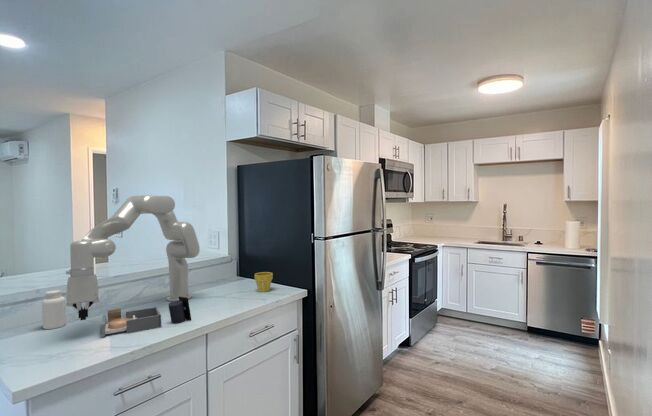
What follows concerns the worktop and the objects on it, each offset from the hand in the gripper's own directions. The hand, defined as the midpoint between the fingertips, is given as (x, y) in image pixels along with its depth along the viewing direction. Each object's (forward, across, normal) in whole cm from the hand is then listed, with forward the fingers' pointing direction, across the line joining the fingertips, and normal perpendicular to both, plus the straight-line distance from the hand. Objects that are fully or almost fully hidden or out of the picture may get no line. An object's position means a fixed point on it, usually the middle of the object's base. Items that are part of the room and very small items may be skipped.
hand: (83, 319), depth 139 cm
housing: (+6, +20, 0) cm, 21 cm away
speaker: (+6, +34, -4) cm, 35 cm away
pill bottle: (+7, -12, +21) cm, 25 cm away
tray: (+6, +13, 0) cm, 15 cm away
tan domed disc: (+5, +12, 0) cm, 13 cm away
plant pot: (+5, +84, +26) cm, 89 cm away
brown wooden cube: (+6, +10, +12) cm, 17 cm away
